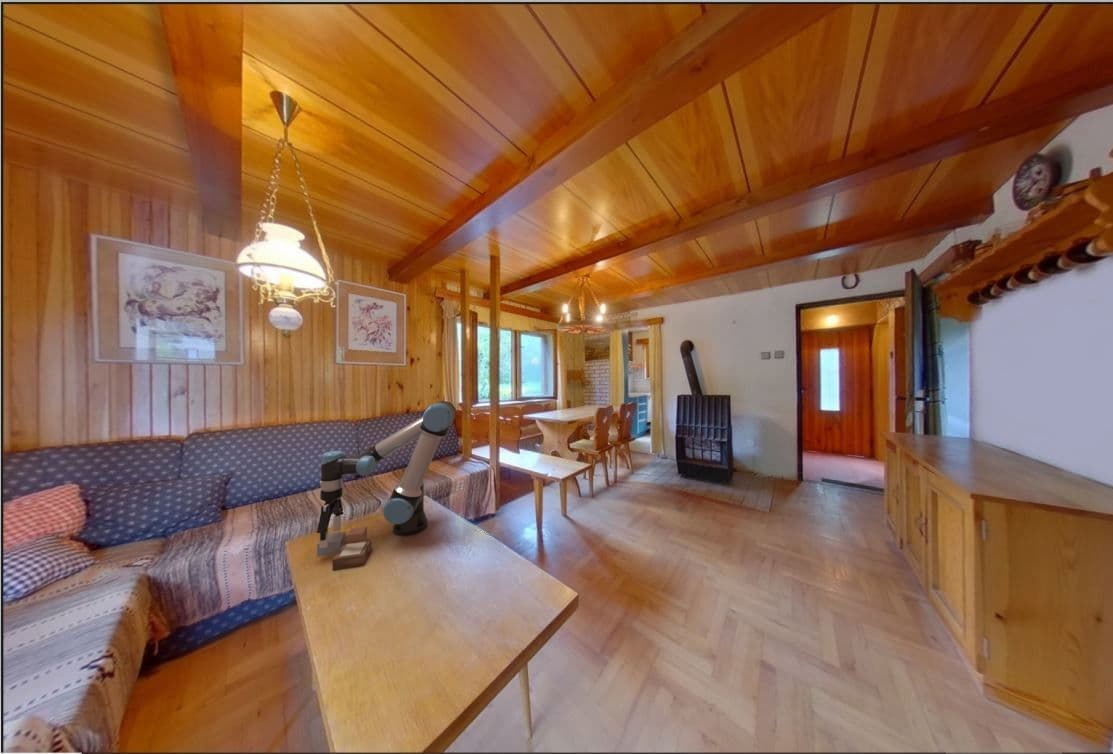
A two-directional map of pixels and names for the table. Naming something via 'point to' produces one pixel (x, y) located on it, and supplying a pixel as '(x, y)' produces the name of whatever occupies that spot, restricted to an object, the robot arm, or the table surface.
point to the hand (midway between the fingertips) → (330, 538)
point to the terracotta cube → (357, 534)
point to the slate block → (333, 543)
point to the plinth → (352, 555)
